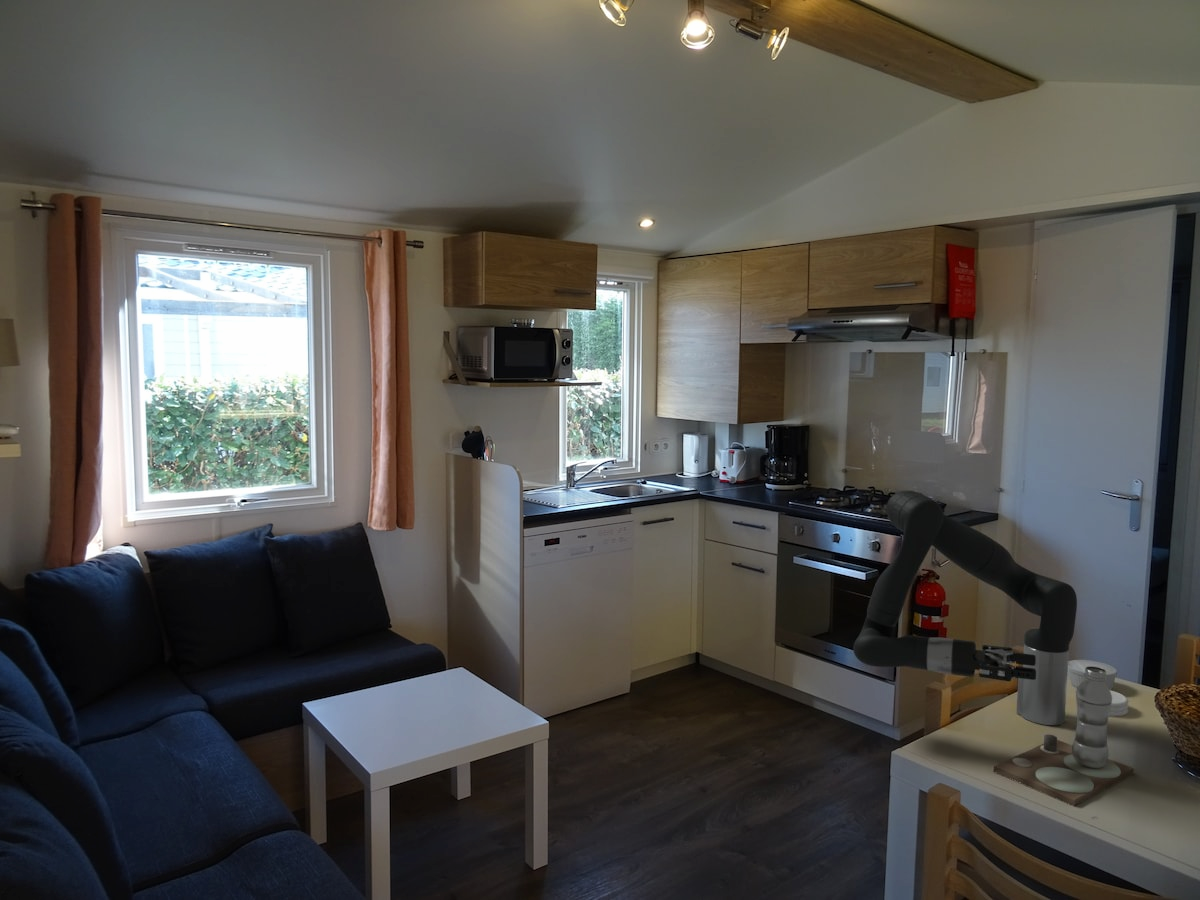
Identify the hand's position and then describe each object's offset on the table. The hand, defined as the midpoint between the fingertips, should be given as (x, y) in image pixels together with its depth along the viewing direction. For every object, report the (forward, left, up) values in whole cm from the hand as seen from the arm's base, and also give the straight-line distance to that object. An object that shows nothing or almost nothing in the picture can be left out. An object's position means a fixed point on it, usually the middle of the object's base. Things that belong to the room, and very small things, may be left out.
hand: (1035, 667), depth 172 cm
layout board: (+7, 0, -20) cm, 21 cm away
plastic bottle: (+9, +5, -19) cm, 22 cm away
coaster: (-5, +41, -21) cm, 46 cm away
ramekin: (-14, +53, -20) cm, 59 cm away
